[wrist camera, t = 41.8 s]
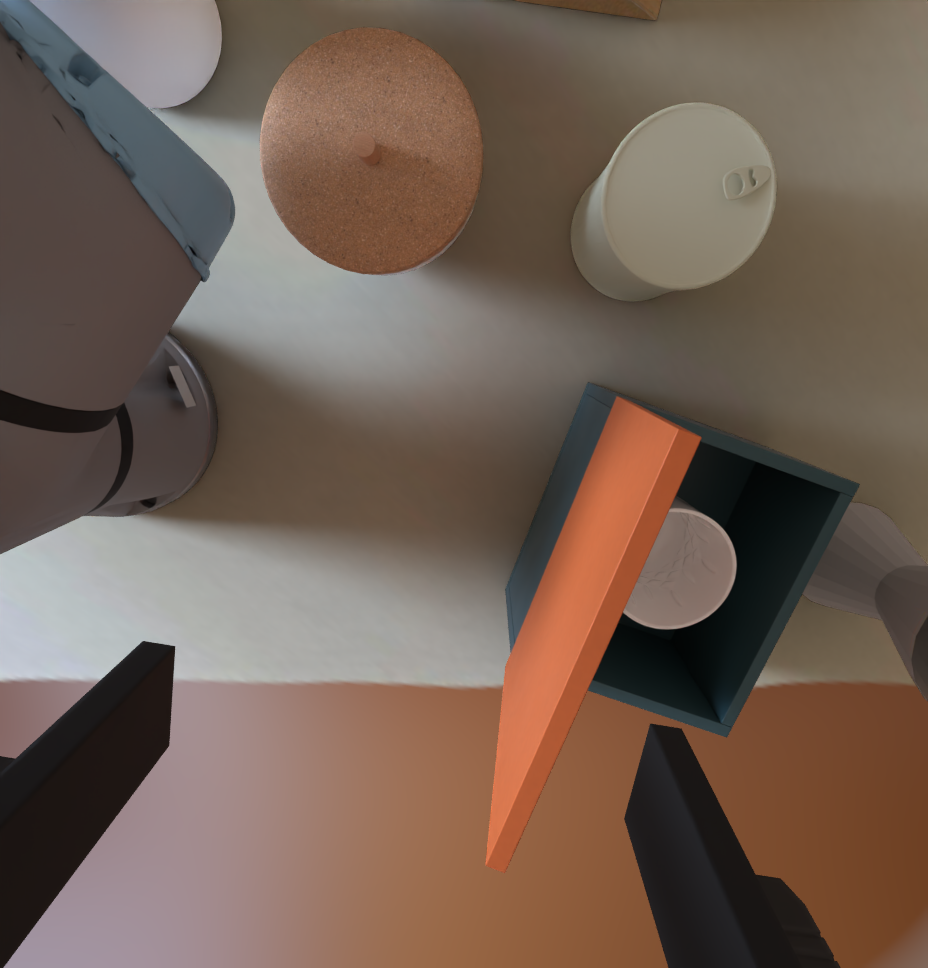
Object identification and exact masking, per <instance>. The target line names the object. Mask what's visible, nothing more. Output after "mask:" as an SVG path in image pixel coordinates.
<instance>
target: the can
mask: <svg viewBox="0 0 928 968" xmlns="http://www.w3.org/2000/svg"><path fill="white" fill-rule="evenodd" d="M776 196H777V180H776V171H775V167H774V163H773V159H772V156H771V154H770V151H769V149H768V147H767V145H766V143H765V141H764V140H763V138H762V137H761V135H760V134H759V133H758V131H757V130H756V129H755V128H754V127H753V126H752V125H751V124H750V123H749V122H748V121H747V120H746V119H744V118H743V117H742V116H740V115H739V114H737V113H735V112H734V111H732V110H729V109H727V108H725V107H722V106H718V105H715V104H709V103H699V102H695V103H683V104H678V105H675V106H671V107H668V108H665V109H663V110H660V111H658V112H656V113H654V114H653V115H651V116H649V117H648V118H646V119H645V120H643V121H642V122H641V123H639V124H638V125H637V126H636V127H635V128H634V129H633V130H632V131H631V132H630V133H629V134H628V135H627V136H626V137H625V138H624V140H623V141H622V142H621V144H620V145H619V146H618V148H617V150H616V151H615V153H614V155H613V156H612V158H611V160H610V162H609V164H608V165H607V167H606V168H605V170H604V171H603V172H602V174H601V175H600V176H599V177H598V178H597V179H596V180H594V181H593V182H592V184H591V185H590V186H589V187H588V188H587V189H586V191H585V192H584V194H583V195H582V197H581V199H580V201H579V203H578V205H577V207H576V210H575V213H574V216H573V220H572V225H571V247H572V252H573V256H574V259H575V262H576V264H577V266H578V268H579V270H580V272H581V274H582V275H583V276H584V278H585V279H586V280H587V281H588V282H589V283H590V284H591V285H592V286H593V287H594V288H595V289H596V290H598V291H599V292H601V293H603V294H604V295H606V296H608V297H611V298H614V299H617V300H622V301H631V302H633V301H644V300H649V299H652V298H655V297H658V296H660V295H662V294H664V293H668V292H672V291H677V290H690V289H697V288H701V287H705V286H708V285H711V284H713V283H716V282H718V281H720V280H722V279H724V278H725V277H727V276H729V275H730V274H732V273H733V272H735V271H736V270H737V269H738V268H739V267H741V266H742V265H743V264H744V263H745V262H746V261H747V260H748V259H749V258H750V257H751V256H752V254H753V253H754V252H755V251H756V249H757V248H758V246H759V245H760V243H761V242H762V240H763V238H764V237H765V235H766V232H767V230H768V228H769V226H770V223H771V220H772V217H773V214H774V209H775V204H776Z"/></svg>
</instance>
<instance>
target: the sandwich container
mask: <svg viewBox="0 0 928 968" xmlns="http://www.w3.org/2000/svg"><path fill="white" fill-rule="evenodd" d="M515 1H520V2H528V3H535V4H542V5H549V6H556V7H563V8H570V9H577V10H584V11H591V12H599V13H606V14H613V15H620V16H627V17H634V18H641V19H648V20H657V18H658V14H659V10H660V5H661V1H662V0H515Z"/></svg>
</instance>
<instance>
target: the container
mask: <svg viewBox="0 0 928 968" xmlns="http://www.w3.org/2000/svg"><path fill="white" fill-rule="evenodd" d="M617 396H619V397H621V398H624V399H627V400H629V401H632V402H633V403H635V404H637V405H639V406H641V407H643V408H645V409H647V410H649V411H651V412H653V413H655V414H657V415H659V416H661V417H663V418H665V419H667V420H669V421H671V422H673V423H675V424H677V425H679V426H681V427H683V428H685V429H687V430H689V431H691V432H693V433H695V434H697V435H699V436H700V437H702V439H701V441H700V443H699V445H698V448H697V450H696V452H695V454H694V456H693V459H692V461H691V463H690V465H689V468H688V470H687V472H686V474H685V476H684V479H683V481H682V483H681V485H680V487H679V490H678V492H677V494H676V496H677V497H679V498H681V499H682V500H684V501H686V502H687V503H689V504H690V505H692V506H693V507H694V508H696V509H697V510H699V511H700V512H702V513H703V514H705V515H706V516H708V517H710V518H711V519H713V520H714V521H715V522H716V523H718V524H719V525H720V526H721V527H722V528H723V529H724V531H725V532H726V533H727V535H728V536H729V538H730V540H731V542H732V544H733V547H734V550H735V554H736V563H737V567H736V576H735V580H734V583H733V586H732V589H731V591H730V593H729V595H728V596H727V598H726V599H725V601H724V602H723V603H722V604H721V606H720V607H719V608H718V609H717V610H716V611H715V612H713V613H712V614H711V615H710V616H708V617H707V618H705V619H703V620H702V621H700V622H698V623H696V624H693V625H690V626H687V627H683V628H678V629H656V628H651V627H648V626H645V625H642V624H640V623H638V622H636V621H634V620H632V619H631V618H629V617H628V616H627V615H625V614H624V613H622V616H621V618H620V620H619V622H618V624H617V627H616V629H615V631H614V633H613V635H612V638H611V640H610V642H609V644H608V646H607V649H606V651H605V653H604V655H603V657H602V660H601V662H600V664H599V666H598V669H597V671H596V673H595V675H594V677H593V680H592V682H591V684H590V686H589V688H588V691H591V692H594V693H597V694H600V695H603V696H606V697H609V698H612V699H615V700H618V701H620V702H623V703H627V704H630V705H633V706H635V707H639V708H641V709H644V710H647V711H650V712H653V713H656V714H659V715H662V716H665V717H668V718H671V719H674V720H677V721H680V722H683V723H685V724H688V725H691V726H694V727H697V728H700V729H703V730H706V731H709V732H712V733H715V734H718V735H721V736H724V737H727V736H728V735H729V732H730V731H731V729H732V726H733V725H734V723H735V721H736V719H737V717H738V715H739V713H740V712H741V710H742V708H743V706H744V704H745V702H746V700H747V698H748V696H749V694H750V692H751V691H752V689H753V687H754V685H755V683H756V681H757V679H758V677H759V675H760V673H761V672H762V670H763V668H764V666H765V664H766V662H767V660H768V658H769V656H770V654H771V653H772V651H773V649H774V647H775V645H776V643H777V641H778V639H779V637H780V635H781V633H782V632H783V630H784V628H785V626H786V624H787V622H788V620H789V618H790V616H791V614H792V613H793V611H794V609H795V607H796V605H797V603H798V601H799V599H800V597H801V595H802V593H803V592H804V590H805V588H806V586H807V584H808V582H809V580H810V578H811V576H812V574H813V573H814V571H815V569H816V567H817V565H818V563H819V561H820V559H821V557H822V555H823V553H824V552H825V550H826V548H827V546H828V544H829V542H830V540H831V538H832V536H833V534H834V532H835V531H836V529H837V527H838V525H839V523H840V521H841V519H842V517H843V515H844V513H845V512H846V510H847V508H848V506H849V504H850V502H851V500H852V498H853V496H854V495H855V493H856V491H857V489H858V487H859V485H860V484H858V483H856V482H853V481H851V480H848V479H846V478H843V477H841V476H838V475H836V474H833V473H831V472H828V471H826V470H823V469H821V468H818V467H816V466H813V465H811V464H808V463H806V462H803V461H801V460H798V459H796V458H793V457H790V456H788V455H785V454H783V453H780V452H778V451H775V450H773V449H770V448H768V447H765V446H762V445H760V444H757V443H754V442H751V441H749V440H746V439H743V438H740V437H738V436H735V435H732V434H729V433H727V432H724V431H721V430H718V429H716V428H713V427H710V426H707V425H705V424H702V423H699V422H697V421H694V420H691V419H688V418H686V417H683V416H680V415H677V414H675V413H672V412H669V411H666V410H664V409H661V408H658V407H655V406H653V405H650V404H647V403H644V402H642V401H639V400H636V399H633V398H631V397H628V396H625V395H622V394H620V393H617V392H614V391H611V390H609V389H606V388H603V387H600V386H598V385H595V384H592V383H589V382H588V383H587V386H586V388H585V391H584V393H583V396H582V398H581V401H580V403H579V406H578V408H577V411H576V413H575V416H574V418H573V421H572V423H571V426H570V428H569V431H568V433H567V436H566V438H565V441H564V443H563V446H562V448H561V451H560V453H559V456H558V458H557V461H556V463H555V466H554V468H553V471H552V473H551V476H550V478H549V481H548V484H547V486H546V489H545V491H544V494H543V496H542V499H541V501H540V504H539V506H538V509H537V511H536V514H535V516H534V519H533V521H532V524H531V526H530V529H529V531H528V534H527V536H526V539H525V541H524V544H523V546H522V549H521V551H520V554H519V556H518V559H517V561H516V564H515V566H514V569H513V571H512V574H511V576H510V579H509V581H508V584H507V586H506V589H505V591H506V604H507V616H508V628H509V640H510V653H511V652H512V649H513V647H514V644H515V642H516V639H517V637H518V635H519V632H520V630H521V627H522V625H523V622H524V620H525V618H526V615H527V613H528V610H529V608H530V605H531V603H532V601H533V598H534V596H535V593H536V591H537V588H538V586H539V584H540V581H541V579H542V576H543V574H544V572H545V569H546V567H547V564H548V562H549V559H550V557H551V555H552V552H553V550H554V547H555V545H556V542H557V540H558V538H559V535H560V533H561V530H562V528H563V525H564V523H565V521H566V518H567V516H568V513H569V511H570V508H571V506H572V504H573V501H574V499H575V496H576V494H577V491H578V489H579V487H580V484H581V482H582V479H583V477H584V474H585V472H586V470H587V467H588V465H589V462H590V460H591V457H592V455H593V453H594V450H595V448H596V445H597V443H598V440H599V438H600V436H601V433H602V431H603V428H604V426H605V423H606V421H607V419H608V416H609V414H610V411H611V409H612V407H613V404H614V402H615V399H616V397H617Z"/></svg>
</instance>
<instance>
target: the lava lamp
mask: <svg viewBox="0 0 928 968" xmlns="http://www.w3.org/2000/svg"><path fill="white" fill-rule="evenodd" d="M802 594H803V595H804V596H805V597H807V598H808V599H809V600H810V601H812V602H815V603H818V604H821V605H824V606H827V607H831V608H835V609H839V610H843V611H847V612H851V613H855V614H859V615H863V616H867V617H872V618H876V619H880V620H882V621H883V623H884V625H885V627H886V629H887V630H888V632H889V634H890V636H891V638H892V640H893V642H894V644H895V646H896V648H897V650H898V652H899V654H900V656H901V658H902V660H903V662H904V664H905V666H906V668H907V670H908V672H909V674H910V676H911V678H912V679H913V681H914V683H915V684H916V686H917V687H918V689H919V691H920V692H921V694H922V696H923V697H924V698H925V699H926V700H927V701H928V565H927V564H926V563H925V562H924V560H923V559H922V558H921V556H920V555H919V554H918V553H917V551H916V550H915V549H914V548H913V546H912V545H911V544H910V542H909V541H908V540H907V539H906V537H905V536H904V535H903V534H902V532H901V531H900V530H899V528H898V527H897V526H896V525H895V523H894V522H893V521H892V520H891V518H889V517H888V516H887V515H886V514H884V513H883V512H882V511H881V510H879V509H878V508H875V507H872V506H869V505H866V504H863V503H850V504H849V506H848V508H847V510H846V512H845V513H844V515H843V517H842V519H841V521H840V523H839V525H838V527H837V529H836V531H835V532H834V534H833V536H832V538H831V540H830V542H829V544H828V546H827V548H826V550H825V552H824V553H823V555H822V557H821V559H820V561H819V563H818V565H817V567H816V569H815V571H814V573H813V574H812V576H811V578H810V580H809V582H808V584H807V586H806V588H805V590H804V592H803V593H802Z"/></svg>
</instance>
